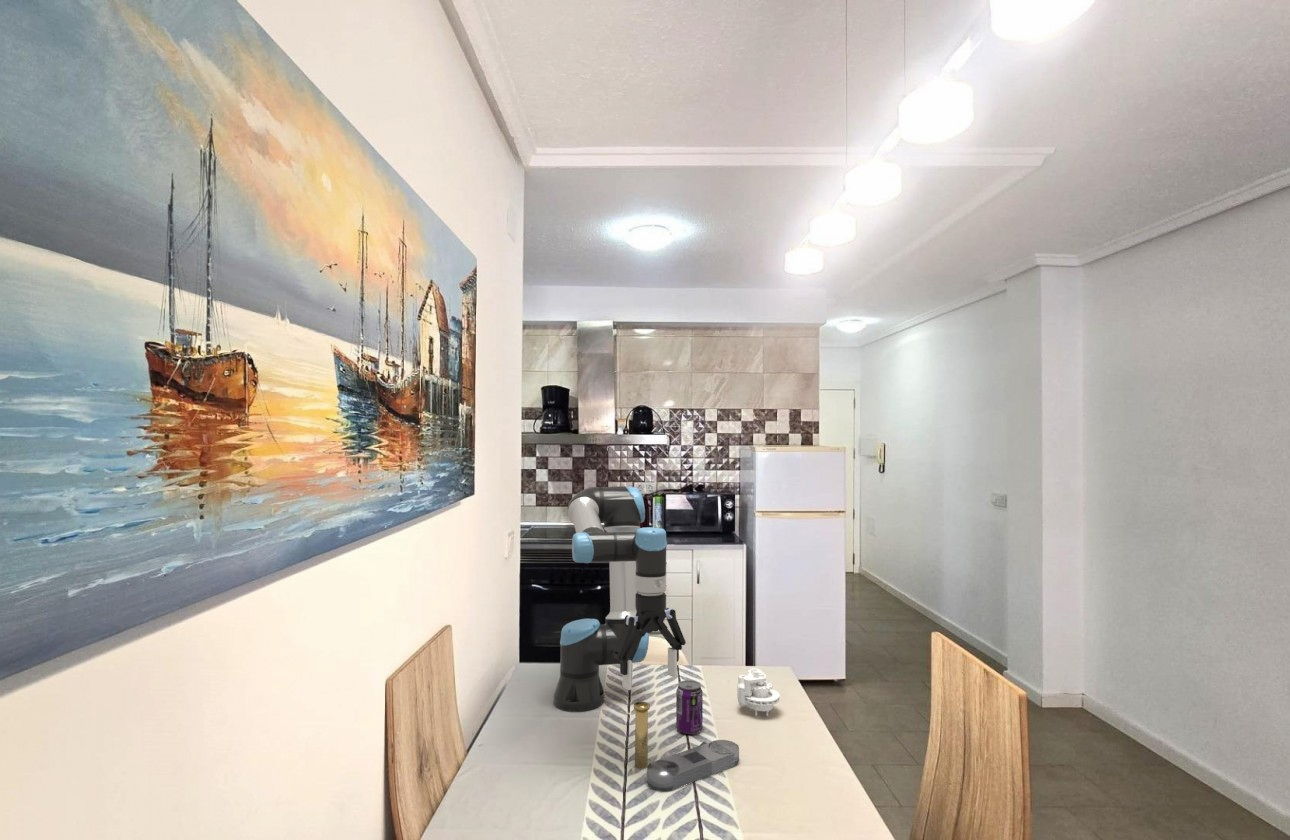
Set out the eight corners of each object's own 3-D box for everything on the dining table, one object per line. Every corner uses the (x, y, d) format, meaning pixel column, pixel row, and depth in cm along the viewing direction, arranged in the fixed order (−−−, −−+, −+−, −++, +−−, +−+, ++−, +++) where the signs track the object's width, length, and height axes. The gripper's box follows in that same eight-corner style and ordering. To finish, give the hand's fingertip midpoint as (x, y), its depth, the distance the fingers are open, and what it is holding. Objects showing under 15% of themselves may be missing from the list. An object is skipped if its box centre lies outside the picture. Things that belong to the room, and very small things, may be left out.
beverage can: (701, 737, 154) (701, 690, 155) (674, 734, 156) (674, 688, 157) (703, 725, 161) (703, 680, 162) (678, 723, 163) (678, 678, 164)
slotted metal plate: (640, 779, 134) (640, 766, 134) (724, 749, 148) (724, 737, 148) (659, 795, 128) (659, 780, 128) (745, 761, 142) (745, 749, 142)
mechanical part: (777, 723, 163) (777, 679, 164) (734, 716, 167) (734, 674, 168) (781, 707, 174) (781, 666, 175) (741, 701, 178) (740, 661, 178)
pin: (630, 763, 141) (630, 703, 142) (643, 759, 143) (643, 700, 144) (639, 770, 138) (639, 709, 139) (652, 766, 140) (652, 705, 141)
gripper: (616, 602, 133) (615, 698, 132) (699, 588, 148) (699, 675, 146) (599, 596, 139) (597, 688, 138) (680, 583, 154) (680, 666, 152)
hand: (650, 681), depth 142 cm, fingers open, 13 cm apart
